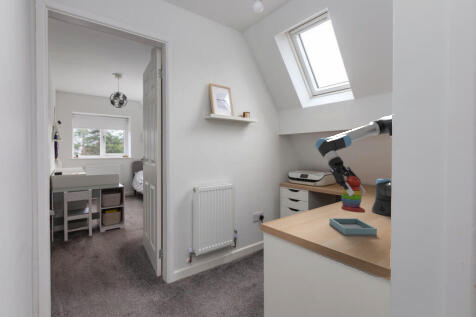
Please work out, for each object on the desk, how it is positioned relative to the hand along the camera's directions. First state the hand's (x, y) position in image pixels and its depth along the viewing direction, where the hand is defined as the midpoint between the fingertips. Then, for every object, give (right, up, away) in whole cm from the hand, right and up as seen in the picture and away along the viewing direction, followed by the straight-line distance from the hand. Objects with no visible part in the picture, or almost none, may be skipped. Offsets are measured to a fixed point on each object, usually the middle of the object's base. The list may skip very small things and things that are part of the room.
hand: (358, 194), depth 117 cm
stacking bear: (-2, -9, +4) cm, 10 cm away
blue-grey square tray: (-1, -19, +4) cm, 20 cm away
